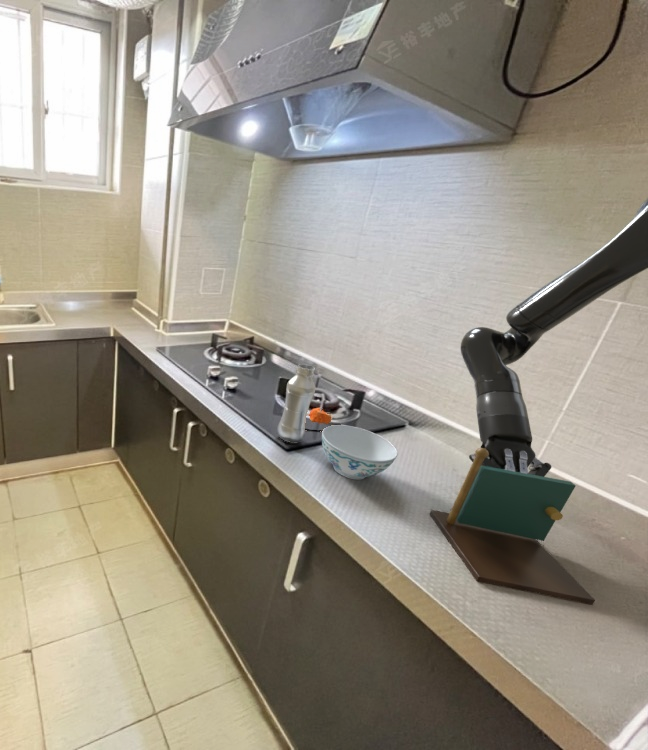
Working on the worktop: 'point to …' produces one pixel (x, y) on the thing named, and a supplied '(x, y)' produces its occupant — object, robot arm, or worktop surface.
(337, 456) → the chinaware
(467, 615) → the worktop surface
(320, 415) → the rock
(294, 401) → the plastic bottle
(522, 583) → the door stand
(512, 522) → the door
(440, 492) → the worktop surface
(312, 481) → the worktop surface
